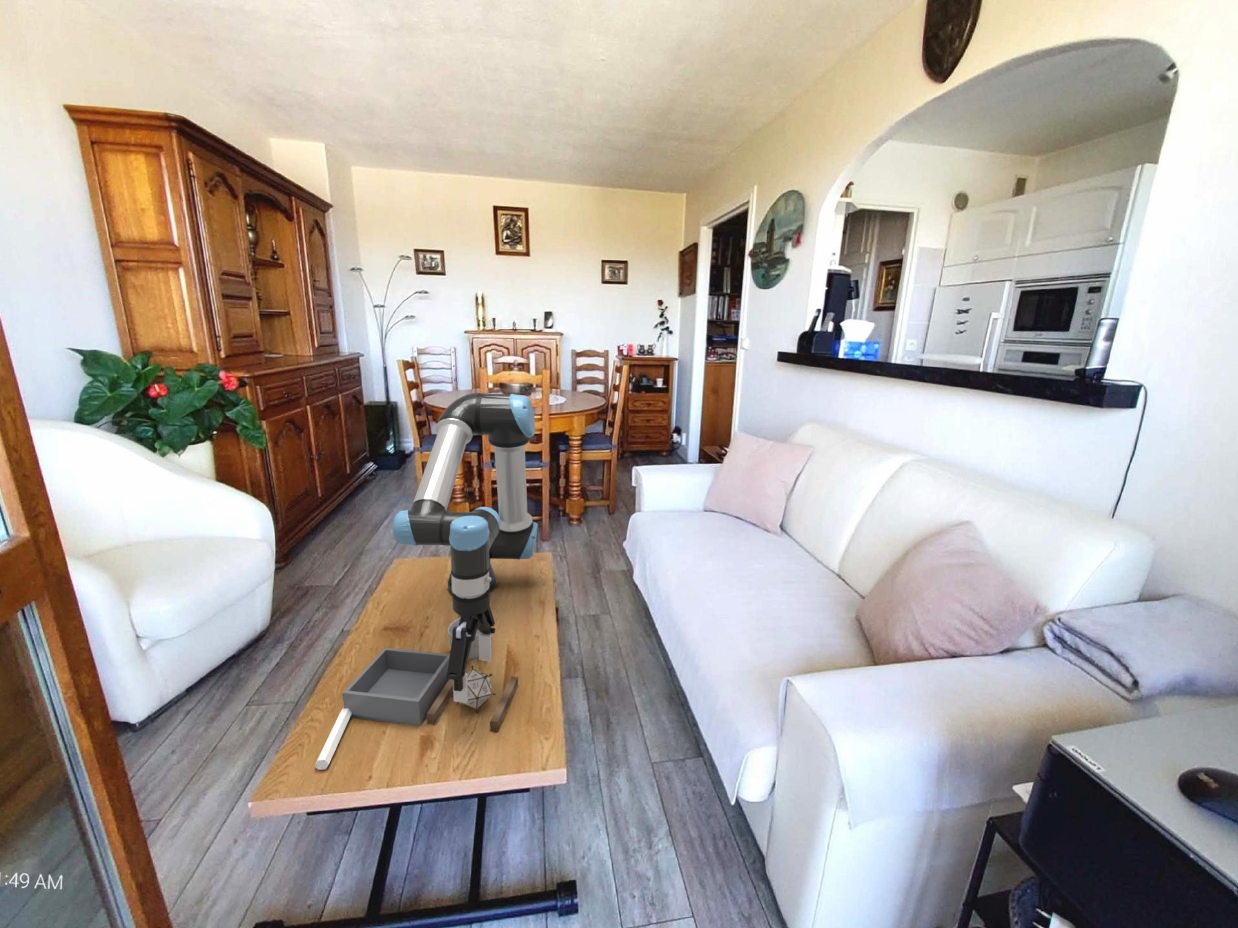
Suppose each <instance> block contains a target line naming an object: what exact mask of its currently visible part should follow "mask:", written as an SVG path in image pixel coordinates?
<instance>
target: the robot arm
mask: <svg viewBox="0 0 1238 928" xmlns="http://www.w3.org/2000/svg"><path fill="white" fill-rule="evenodd" d="M532 403H533V402H532V401H531V399H530V398H529V397H528V396H526V395H522V394H515V393H510V394H509V393H480V392H472V393H468V394H465V395H463V396H461V397H459V398H457V399H456V400H454V401H453V402H451V404H449V405H448V406H447V407H446V408H445V409H444V411H442V413H441V414H440V416H439V418H438V420H437V422H436V425H435V434H436V437H435V441H434V443H433V445H432V448H431V451H430V454H429V457H428V460H427V463H426V466H425V468H424V471H423V475H422V477H421V480H420V482H419V485H418V488H417V491H416V493H415V497H414V500H413V502H412V505H411V508H410V509H406V510H399V511H398V512H397V513H396V515H394V519H393V522H392V535H393V538H394V540H395V542H397V543H398V544H401V545H409V546H416V547H417V546H447V547H448V546H449V547H450V548H449V551H450V566H451V568H450V569H451V570H450V574H449V577H448V579H447V591H448V593H449V594H451V595H452V596H451V597H452V598H451V599H452V609H453V611H454V613H456V614H457V615H458V616H459V618H460V617H461V618H460V621H459V627H453V631H452V645H451V647H450V658H449V665H448V671H447V679H452V680H453V702H455V703H456V702H463V703H467V701H468V684H467V673H468V672H466V669H467V664H468V662H469V661H468V657H469V652H470V648H471V643H472V642H473V641H474V640H475V636H476V632H477V629H478V630H479V631H480V632H482V634H479V635H478V636H479V657H478V661H485V662H492V659H493V658H492V657H493V655H492V644H491V635H490V633H492V635H493V634H495V633H496V628H495V625H496V622H495V618H494V614H493V612H492V608H491V592H493V591H494V590H495V588H496V587H497V576H496V573H495V571H494V568H493V566H492V564H491V559H492V560H493V559H496V560H498V559H499V560H500V559H501V560H502V559H504V560H518V561H520V560H529V559H531V558H532V557H533V556H534V552H535V547H536V542H537V535H538V527H539V524H538V523H537V522H535V521H533V517H532V515H531V514H530V513H529V512H528V494H527V473H526V472H527V471H526V450H525V448H526V446H527V445H528V444H529V443H530V441H531V438H533V437H534V436H535V433H536V424H535V421H536V420H535V419H536V418H535V411H534V406H533V404H532ZM473 436H487V439H488V443H489V445H490V446H491V447H493V448H494V459H495V461H494V462H495V474H496V475H495V476H496V477H495V478H496V487H497V488H496V489H497V491H496V492H497V505H498V512H497V511H496V510H494V509H493V508H491V507H487V506H480V507H477V508H476V509H474V510H473V511H448V507H449V502H450V499H451V497H452V493H453V490H454V486H455V483H456V479H457V476H458V472H459V469H460V467H461V462H462V459H463V455H464V453H465V449H466V446H467V444H469V443H470V442H471V441H472V439H473ZM467 635H471V636H470V637H469V636H467Z"/></svg>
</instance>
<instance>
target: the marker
mask: <svg viewBox="0 0 1238 928" xmlns="http://www.w3.org/2000/svg"><path fill="white" fill-rule="evenodd" d="M351 714H352V712H351V711H350V710H349V708H344V707H343V708H342V709H341V711H340V712H339V714H338V716H337V718H336V721H335V722H334V724H333V726H332V728H331V731H330V733H329V735H328V736H327V739H326V741H325V743H324V746H323V747H322V749H321V752H320V754H319V755H318V758H317V760H316V762H315V764H314V767H315V768H316V769H317V770H319V771H320V770H327V768H328V766H329V765H330V762H331V760H332V758H333V756H334V754H335V751H336V749H337V748H338V744H339V743H340V741H341V738H342V736H343V735H344V731H345V730H346V727H347V725H348V723H349V721H350V716H351Z"/></svg>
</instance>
